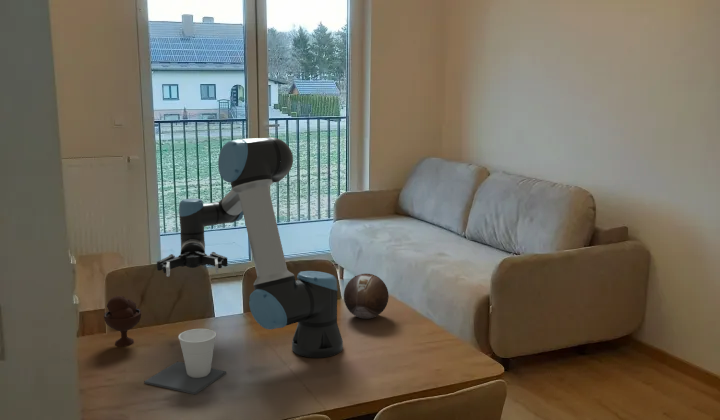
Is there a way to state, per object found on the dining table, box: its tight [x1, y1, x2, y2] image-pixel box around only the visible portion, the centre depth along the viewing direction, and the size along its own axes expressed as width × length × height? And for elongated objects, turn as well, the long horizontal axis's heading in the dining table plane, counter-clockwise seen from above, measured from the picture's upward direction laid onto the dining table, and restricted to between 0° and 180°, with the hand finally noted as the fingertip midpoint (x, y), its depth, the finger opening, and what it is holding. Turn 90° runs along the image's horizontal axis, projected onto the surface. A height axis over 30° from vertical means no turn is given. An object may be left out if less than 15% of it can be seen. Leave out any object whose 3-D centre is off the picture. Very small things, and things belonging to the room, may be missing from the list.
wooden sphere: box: [343, 273, 390, 320], centre depth 233 cm, size 15×15×15 cm
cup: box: [177, 328, 217, 378], centre depth 186 cm, size 10×10×11 cm
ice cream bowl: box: [103, 295, 142, 347], centre depth 208 cm, size 11×11×15 cm
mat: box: [144, 361, 227, 395], centre depth 186 cm, size 16×14×1 cm
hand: (192, 270), depth 197 cm, fingers open, 13 cm apart
